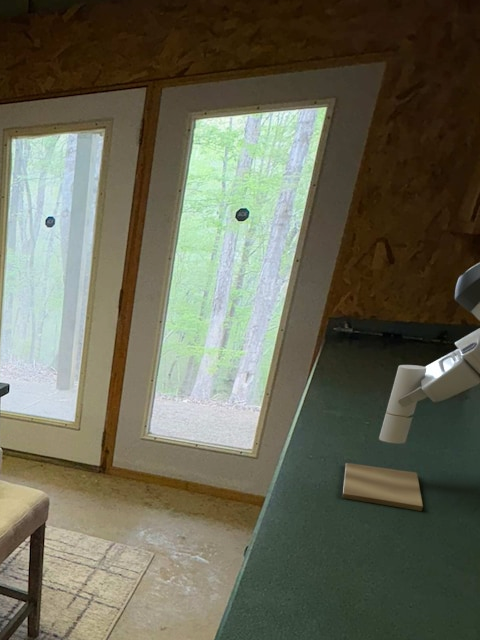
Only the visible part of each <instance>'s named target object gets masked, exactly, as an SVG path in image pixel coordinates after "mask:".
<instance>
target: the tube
mask: <svg viewBox="0 0 480 640" xmlns="http://www.w3.org/2000/svg"><path fill="white" fill-rule="evenodd" d="M426 370H427V368H426V366H423V365H416V364H415V365H414V364H400V365H398V367H397V370H396V374H395V377H394V382H393V385H392V388H391V393H390V396H389V400H388V403H387V408H386V410H385V411H386V412H385V415H384V419H383V422H382V426H381V430H380V432H379V437H378V440H379V441H381V442H385V443H389V444H405V443H406V442H407V438H408V435H409V431H410V429H411V425H412V421H413V418H414V416H413V415H414V414H415V411H416V408H417V404H418V401H417V402H414V403H412V404H410V405H408V406H406V407H402V406H401V405H400V404H399V403H398V399H399V398H401V397H403V396H404V395H406V394H409V393H411V392H413V391H415V390H416V389H417V388H419V387H421V386H422V385H421V380H422V379H423V378H424V376H425V373H426Z"/></svg>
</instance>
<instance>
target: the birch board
mask: <svg viewBox="0 0 480 640" xmlns="http://www.w3.org/2000/svg"><path fill="white" fill-rule="evenodd" d="M419 482H420V481H419V476H418V473H417V472H414V471H408V470H407V471H406V470H399V469H392V468H386V467H385V468H384V467H380V466H379V467H377V466H372V465H371V466H370V465H363V464H357V463H349V462H346V463H345V465H344V475H343V482H342V483H343V485H342V493H341V494H342V495H341V499H346V500H352V501H358V502H363V503H370V504H376V505H383V506H389V507H395V508H400V509H408V510H413V511H418V512H422V511H423V508H424V504H423V499H422V494H421V488H420V483H419Z"/></svg>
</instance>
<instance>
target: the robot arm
mask: <svg viewBox="0 0 480 640" xmlns="http://www.w3.org/2000/svg"><path fill="white" fill-rule="evenodd" d="M454 301H455V302H457V303H458V304H459V305H460V306H461V307H463V308H464V309H465V310H466V311H467V312H469V313H470V314H472V315H473V316H474V317H475V318H476V319H477V320H478V321H479V322H480V261H479V262H478V263H476V264H474V265H473V266H471V267H470V268H468V269H467V270H466V271H465V272H463V273H462V274H461V275H459V277H458V279H457V282H456V285H455V291H454ZM454 345H455V347H456V349H455V350H453V351H451V352H449V353H447V354H446V355H444V356H441V357H440V358H438V359H436V360H435V361H433V362H431V363H429V364H427V365H425V367H426V368H427V370H426V373H425V376H424V378H423V379H422V380H421V385H422V386H421V387H419V388H417V389H416V390H415V391H413V392H411V393H409V394H406V395H404V396H403V397H401V398H399V399H398V403H399V404H400V405H401V406H402V407H406V406H408V405H410V404H412V403H414V402H417V403H418V402H419V401H422V400H425V399H427V398H429V399H430V401H431V402H432V403H439V402H442V401H445V400H448V399H450V398H452V397H455V396H456V395H459V394H461V393H463V392H465V391H468V390H469V389H472V388H474V387H476V386H478V385H479V384H480V327H479V328H477V329H476V330H474V331H472V332H470V333H469V334H467V335H465V336H464V337H462V338H460V339H458V340H456V341H455V342H454Z"/></svg>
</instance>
